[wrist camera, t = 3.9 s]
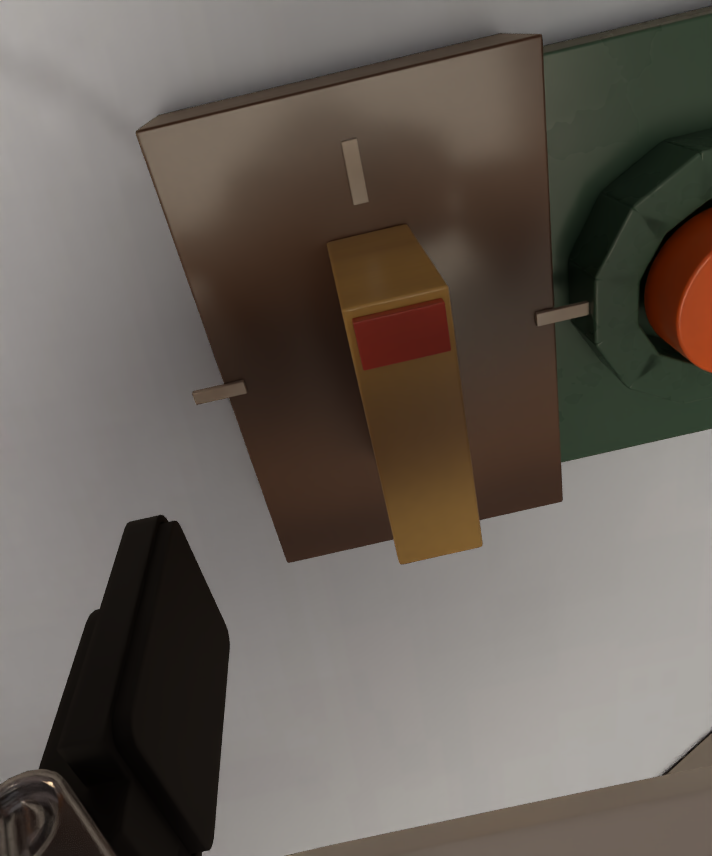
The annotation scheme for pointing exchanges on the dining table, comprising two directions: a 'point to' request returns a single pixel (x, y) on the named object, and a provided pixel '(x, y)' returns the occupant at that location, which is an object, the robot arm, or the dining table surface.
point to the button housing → (625, 223)
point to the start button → (684, 291)
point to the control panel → (358, 214)
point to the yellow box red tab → (409, 389)
